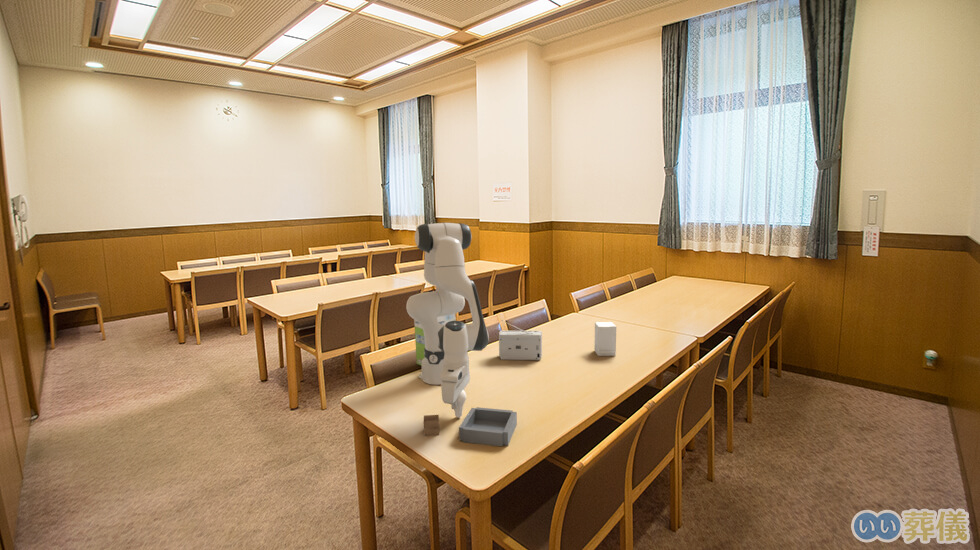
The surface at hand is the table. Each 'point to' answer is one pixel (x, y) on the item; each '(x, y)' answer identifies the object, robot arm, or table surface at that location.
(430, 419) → the walnut block
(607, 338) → the supplement box
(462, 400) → the lightbulb
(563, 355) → the table surface
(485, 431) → the gray square tray
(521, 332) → the stereo radio cassette player
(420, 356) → the toothbrush box
